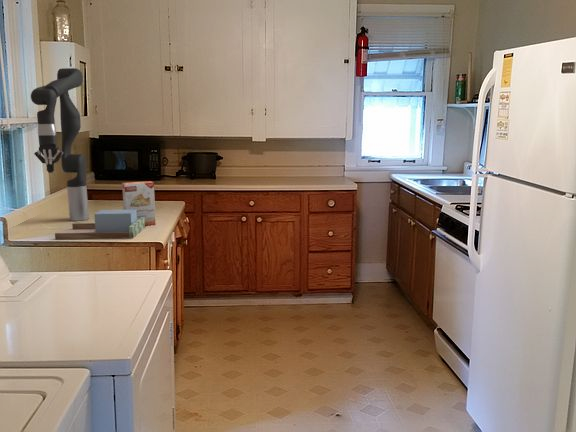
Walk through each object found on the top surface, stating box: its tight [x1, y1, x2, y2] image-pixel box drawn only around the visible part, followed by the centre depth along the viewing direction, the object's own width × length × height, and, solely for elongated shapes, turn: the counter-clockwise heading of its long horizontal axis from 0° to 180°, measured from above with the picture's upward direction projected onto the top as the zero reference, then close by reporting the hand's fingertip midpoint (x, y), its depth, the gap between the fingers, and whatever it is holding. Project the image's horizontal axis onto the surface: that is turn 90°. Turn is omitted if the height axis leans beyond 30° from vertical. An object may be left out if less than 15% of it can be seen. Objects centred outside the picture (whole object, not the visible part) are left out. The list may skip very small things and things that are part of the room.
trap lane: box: [54, 217, 146, 240], centre depth 251 cm, size 22×34×5 cm, turn 91°
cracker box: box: [121, 180, 157, 227], centre depth 266 cm, size 14×6×21 cm, turn 117°
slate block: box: [93, 209, 137, 233], centre depth 251 cm, size 10×16×10 cm, turn 91°
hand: (50, 172), depth 254 cm, fingers closed
